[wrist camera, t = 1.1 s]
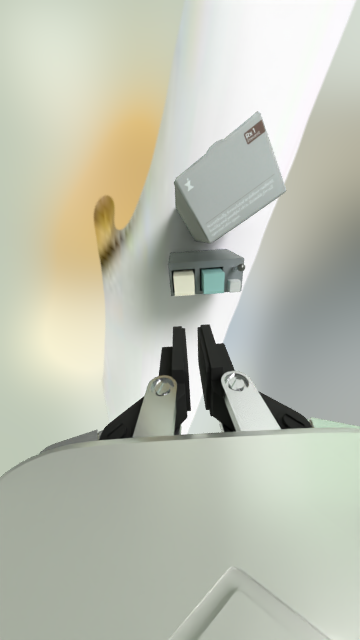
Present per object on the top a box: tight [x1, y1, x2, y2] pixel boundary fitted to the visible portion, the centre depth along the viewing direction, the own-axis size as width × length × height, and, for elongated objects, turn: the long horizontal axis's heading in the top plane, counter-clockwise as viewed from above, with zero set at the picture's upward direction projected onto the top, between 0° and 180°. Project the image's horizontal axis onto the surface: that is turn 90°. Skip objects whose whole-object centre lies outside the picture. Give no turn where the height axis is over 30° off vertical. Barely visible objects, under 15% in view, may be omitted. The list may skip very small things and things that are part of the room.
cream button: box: [173, 270, 195, 296], centre depth 25 cm, size 3×3×3 cm
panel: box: [168, 249, 244, 296], centre depth 30 cm, size 4×10×10 cm, turn 94°
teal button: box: [201, 268, 225, 294], centre depth 25 cm, size 3×3×3 cm
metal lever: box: [232, 264, 245, 272], centre depth 23 cm, size 1×1×4 cm
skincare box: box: [174, 111, 286, 243], centre depth 23 cm, size 8×7×16 cm
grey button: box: [227, 279, 241, 292], centre depth 25 cm, size 1×1×1 cm
